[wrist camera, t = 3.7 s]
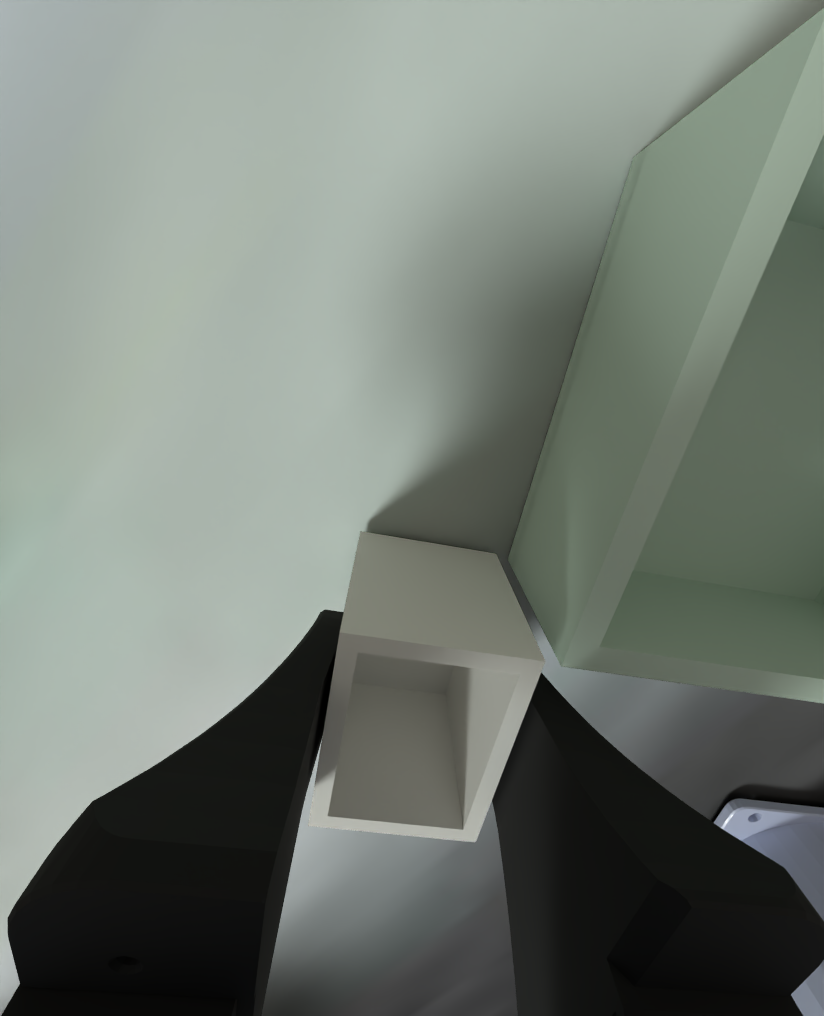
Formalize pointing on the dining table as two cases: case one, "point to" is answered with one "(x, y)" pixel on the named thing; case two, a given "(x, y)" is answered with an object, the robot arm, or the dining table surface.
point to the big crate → (698, 407)
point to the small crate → (423, 691)
